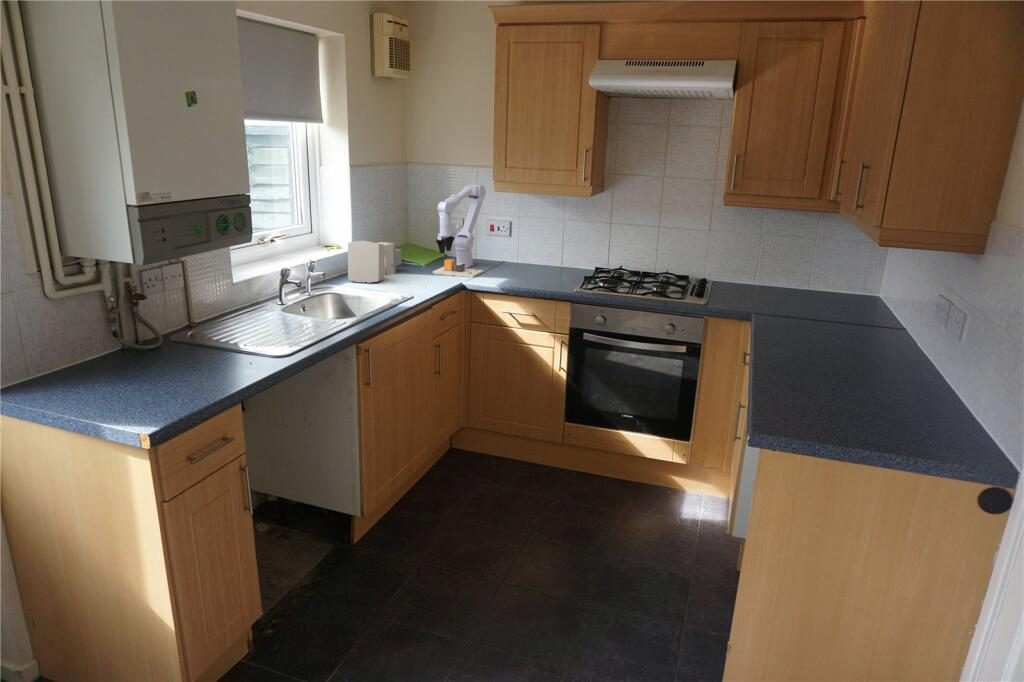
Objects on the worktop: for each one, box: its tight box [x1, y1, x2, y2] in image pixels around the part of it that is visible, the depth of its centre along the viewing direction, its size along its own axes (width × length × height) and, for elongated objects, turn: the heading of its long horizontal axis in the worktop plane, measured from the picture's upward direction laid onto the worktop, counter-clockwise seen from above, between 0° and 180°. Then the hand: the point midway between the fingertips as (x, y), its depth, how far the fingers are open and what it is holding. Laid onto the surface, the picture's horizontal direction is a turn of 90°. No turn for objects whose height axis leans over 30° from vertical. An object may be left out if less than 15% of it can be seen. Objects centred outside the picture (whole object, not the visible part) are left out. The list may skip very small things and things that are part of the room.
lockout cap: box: [443, 258, 456, 271], centre depth 348 cm, size 4×4×5 cm
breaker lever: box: [455, 263, 466, 271], centre depth 346 cm, size 5×3×3 cm, turn 160°
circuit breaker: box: [379, 241, 403, 276], centre depth 342 cm, size 8×14×15 cm, turn 148°
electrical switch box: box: [347, 239, 385, 284], centre depth 325 cm, size 15×15×20 cm
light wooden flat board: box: [432, 266, 484, 278], centre depth 347 cm, size 14×22×2 cm, turn 70°
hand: (445, 252), depth 351 cm, fingers open, 7 cm apart
